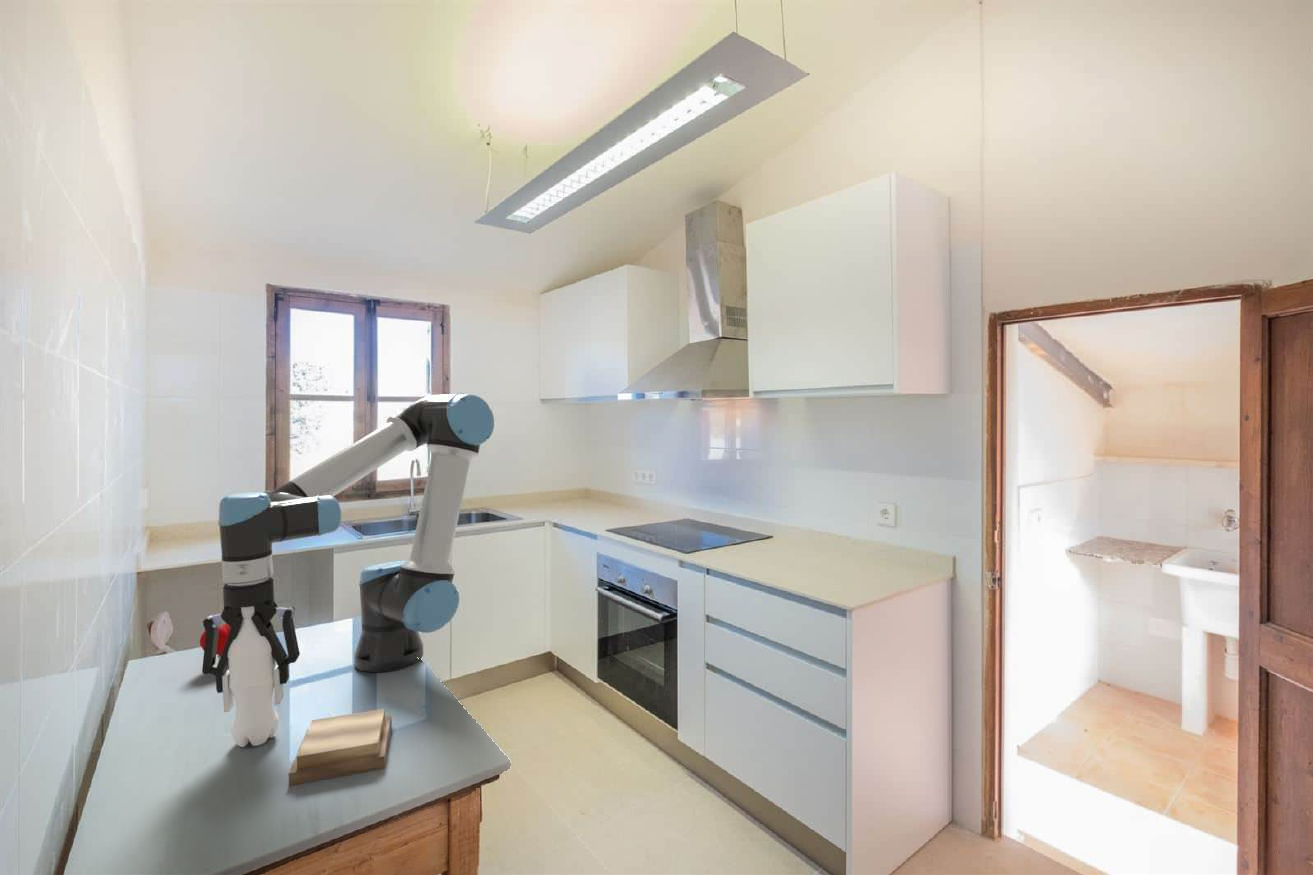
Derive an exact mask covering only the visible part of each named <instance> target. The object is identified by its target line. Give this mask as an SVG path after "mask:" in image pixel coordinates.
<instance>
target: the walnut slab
mask: <svg viewBox="0 0 1313 875" xmlns="http://www.w3.org/2000/svg"><path fill="white" fill-rule="evenodd" d="M392 725H393V724H392V715H387V716H386V715H385V722H384V727H383V732H382V737H381V742H380V748H379V753H378V754H376V755H371V756H365V757H359V758H354V759H348V760H343V761H337V762H331V763H326V764H320V765H315V766H309V767H304V768H298V769H297V755H298V752H299V750H300V748H301V745H302V743H303V740H304V738H305V736H306V733H307V731H308V729H309V728H307V729H306V732H305V734H304V736H303V739H302V741H301V743H300V744H299V745H300V746H299V748H298V750H297V753H296V755H295V757H294V759H293V763H292V764H291V767H290V769H289V771H288V786H294V785H300V784H303V783H304V784H305V783H311V782H316V781H323V780H327V779H331V778H337V777H343V776H347V775H348V776H349V775H352V774H358V773H365V772H368V771H369V772H370V771H375V770H379V769H385V766H386V763H387V762H386V761H387V755H388V749H389V745H390V739H391V738H390V737H391V731H392Z"/></svg>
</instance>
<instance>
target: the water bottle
mask: <svg viewBox="0 0 1313 875" xmlns="http://www.w3.org/2000/svg"><path fill="white" fill-rule="evenodd" d="M241 609H242V617H243V622H242V624H241V627H240V629H239V632H238V634H237V637H236V639H235V640H233V642H232V644H231V645H230V648H229V651H228V658H229V665H228V670H229V674H230V682H229V688H230V689H231V691H232V693H233V694H234V701H235V707H236V708H235V716H234V720H233V723H232V726H231V736H232V738H233V741H234V742H235V744H236V745H237V746H239V747H241V748H245V747H246V746H248V744H249V742H250V744H251V745H252V746H253V747H256V746H257V747H258V746H260V745H263V744H265V743H266V742H267V740H268V739H269V738H273V737H274V736H275V735H276V732H277V730H278V727H279V723H280V720H279V719H280V717H279V715H278V713H277V712H276V709H275V706H274V702H273V694H274V668H275V667H276V661H275V659H274V657H273V655H272V653H271V651H272V650H271V646H270V644H269V642H268V640H267V639H266V638H265V636H261V635H260V633H259V631H258V630H257V628H256V626H255V625H254V623H253V621H252V620H251V617H252V616H253V615H254V614H253V613H254V606H252V607H241Z"/></svg>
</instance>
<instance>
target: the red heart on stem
mask: <svg viewBox="0 0 1313 875" xmlns="http://www.w3.org/2000/svg"><path fill="white" fill-rule="evenodd" d="M230 630H231V627H230V626H229V625H228V624H227V623H226V622H225V623H224V624H223V625H220V626H219V632H218V642H217V652H216V656H217V659H218V660H217V661H218V662H219V660H220V657H221V655H222V652H223V650H224V647H225V644H226V642H227V639H228V635H229V633H230ZM205 637H206V631H205V630H204V631H203V633H202V634H201V636H200V639H199V644H200V647H201V650H203V651H204V647H205ZM218 662H217V663H218ZM228 666H229V664H228Z"/></svg>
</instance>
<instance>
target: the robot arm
mask: <svg viewBox="0 0 1313 875" xmlns="http://www.w3.org/2000/svg"><path fill="white" fill-rule="evenodd" d="M494 427H495V418H494V414H493V411H492V409H491V408H490V406H489V404H488V403H487V401H485V399H483V398H481V397H480V396H478V395H475V394H468V393H462V392H461V393H456V394H455V393H453V394H452V393H451V394H440V393H439V394H430V395H427V396H425V397H422V398H420V399H418V400H416V401H415V402H413V403H410V404H409V405H407V406H406V407H404V408H402V409H400V410H399V411H397V412H395V413H394V414H391V415H390V416H389V417H388V418H387V419H386V424H384V425H382V426H380V427H379V428H377V429H375V430H373V431H372V432H371V433H369V434H367V435H366V436H363V437H362V438H361V439H358V440H357V441H355V442H354V443H352V444H350V445H349V446H347V447H345V448H344V449H342V450H340V451H339V452H337V453H335V454H333V455H332V456H330V457H328V458H327V459H325V460H323V461H321V462H320V463H318V464H316V465H315V466H313V467H312V468H310V469H308V470H306V471H305V472H303V473H301V474H300V475H298V476H297V477H295V478H293V479H290V481H287V482H286V483H284V484H282V485H281V486H279V487H277V488H276V489H274V490H264V491H261V492H242V493H241V492H240V493H235V494H230V495H229V494H228V495H226V496H224V497H223V498H221V500H220V501H219V510H218V512H219V514H218V526H219V536H220V537H219V539H220V540H219V541H220V550H221V552H220V553H221V574H222V582H224V585H222V597H223V609H222V612H221V613H218V614H209V615H208V616H207V617H206V618H204V619H203V621H202V624H203V628H204V631H206V637H205V647H204V650H203V657H202V658H203V660H202V668H201V671H202V674H203V675H210V674H211V675H214V676H215V687H216V688H215V690H216V692H217V694H221V693H222V697H223V698H222V699H223V713H229V712H230V711H231V709H232V708H233V707H234V705H235V697H234V694H233V693H232V691H231V689H230V688H229V682H230V674H229V665H228V664H229V658H228V651H229V648H230V645H231V644H232V642H233V640H235V639H236V637H237V634H238V632H239V629H240V627H241V624H242V622H243V617H242V609H241V607H252V606H254V613H253V614H254V615H253V616H252V617H251V620H252V621H253V623H254V625H255V626H256V628H257V630H258V631H259V633H260V635H261V636H265V638H266V639H267V640H268V642H269V644H270V646H271V650H272V651H271V653H272V655H273V657H274V659H275V668H274V688H273V692H274V705H275V706H276V705H280V704H281V703H282V701H283V699H284V696H285V694H284V684H287V682H288V680H289V678H290V671H289V670H290V668H289V665H290V664H294V663H296V662H297V660H298V659H299V657H300V654H301V653H300V648H299V642H298V638H297V633H296V628H295V623H294V614H295V610H296V609H295V606H293V605H290V606H288V607H282V606H281V607H280V606H278V605H277V603H276V600H275V590H274V589H275V588H274V587H275V586H274V578H273V577H271V576H273V574H274V568H273V567H274V565H273V564H274V562H273V544H274V543H281V542H284V541H292V540H299V539H304V538H305V539H306V538H310V537H316V536H318V537H320V536H323V535H326V534H330V533H334V532H336V531H337V530H338V529H339V527H340V526H341V525H340V524H341V521H342V509H341V506H340V504H339V502H338V500H337V498H336V497H335V496H336V495H338V494H340V493H341V492H343V491H344V490H346V489H347V488H349V487H350V486H352V485H354V484H355V483H356V482H357V483H358V481H360V480H361V479H363V478H365V477H366V476H368V475H369V474H371V473H373V471H376V470H377V469H378V468H380V467H382V466H384V465H385V464H386V463H388V462H390V461H391V460H393V459H394V458H396V457H398V456H399V455H401V454H402V453H404V452H405V451H407V452H413V451H415V450H416V449H418V448H419V447H421V446H424V445H426V447H427V448H428V450H429V451H430V453H431V458H430V462H429V466H428V470H427V471H428V472H427V477H426V481H425V486H424V490H423V495H422V500H421V503H420V504H421V505H420V509H419V513H418V514H419V515H418V517H417V522H416V527H415V533H414V537H413V542H412V547H411V551H410V555H409V558H408V559H407V560H396V561H387V562H382V563H381V562H380V563H377V564H376V563H375V564H373V565H370V566H367V567H364V568H363V569H362V571H361V572H360V574H359V575H360V576H359V577H360V578H359V584H358V585H359V591H360V592H359V595H360V596H359V598H360V617H361V618H360V619H361V622H360V623H361V632H360V636H359V639H358V642H357V646H356V647H355V651H354V655H353V656H354V657H353V658H354V659H353V660H354V667H355V668H356V669H357V670H359V671H362V672H367V673H383V672H385V673H386V672H391V671H396V670H400V669H404V668H406V667H409V666H411V665H413V664H415V663H416V662H418V661H419V660H418V658H419V659H420V660H421V659H423V658H422V657H423V656H424V643H423V641H422V638H421V636H420V633H422V634H423V633H425V634H427V633H429V634H430V633H434V632H437V631H438V630H441V629H442V628H444V626H445V625H447V624H448V623H449V622H450V621H451V620H452V619H453V618H454V616H455V614H456V613H457V610H458V608H459V604H460V593H459V591H458V590H457V586H455V585H454V584H453V582H454V576H455V569H454V568H453V567H452V566H451V563H450V562H451V558H452V552H453V547H454V541H455V537H456V532H457V528H458V527H457V526H458V523H459V518H460V511H461V508H462V503H463V498H464V497H463V496H464V492H465V487H466V482H467V477H468V472H469V468H470V463H471V461H472V460H473V459H475V458H476V457H477V456H478V455H479V452H480V447H481V445H482V444H484V443H486V441H487V440H489V439H490V438H491V436H492V435H493V432H494ZM276 615H278V619H279V620H280V621H281V622H282V623H281V624H282V625H281V626H282V631H283V636H284V642H285V646H286V650H287V652H286V650H285V648H284V646H283V644H282V642H281V640H280V639H279V637H278V635H277V632H276V631H275V629H274V625H273V623H272V619H273V618H274V616H276ZM222 621H223V622H224V623H225V624H226V623H227V624H228V625H229V626H230V627H231V630H230V633H229V635H228V639H227V642H226V644H225V647H224V650H223V652H222V655H221V657H220V660H219V659H218V660H219V662H217V663H216V661H217V660H216V659H217V654H216V652H217V642H218V632H219V626H221V624H222ZM419 632H420V633H419ZM417 657H418V658H417Z"/></svg>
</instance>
